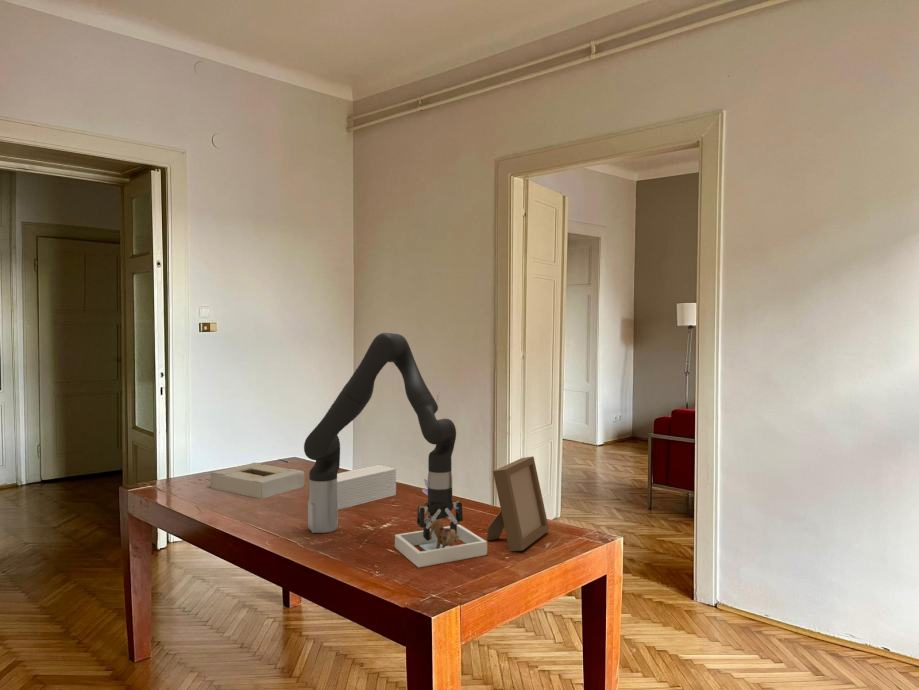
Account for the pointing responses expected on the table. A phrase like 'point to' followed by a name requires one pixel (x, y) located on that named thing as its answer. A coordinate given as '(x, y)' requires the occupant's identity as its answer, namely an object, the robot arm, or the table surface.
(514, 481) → the photo frame
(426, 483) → the water lily
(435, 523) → the lion figurine
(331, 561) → the table surface
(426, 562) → the low pen
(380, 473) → the stack of papers
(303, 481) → the box
